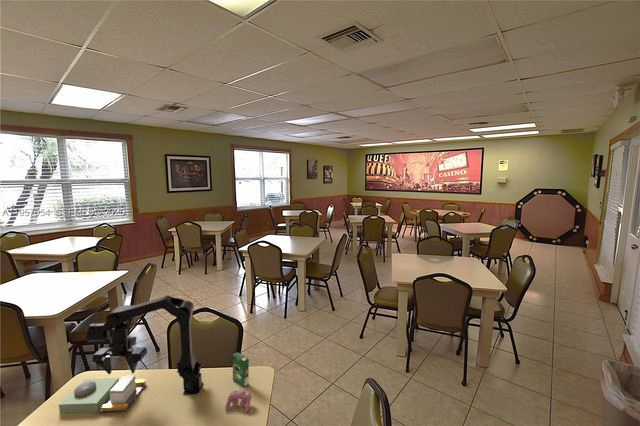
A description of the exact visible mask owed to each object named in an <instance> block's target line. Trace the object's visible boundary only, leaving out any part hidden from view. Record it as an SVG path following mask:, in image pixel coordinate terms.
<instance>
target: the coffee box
mask: <svg viewBox="0 0 640 426" xmlns="http://www.w3.org/2000/svg"><path fill="white" fill-rule="evenodd" d="M249 360H250V359H249V357H247V356H245V355H243V354H242V353H240V352H238V351H236V352H235V353H233V354H232V380H233V381H234V382H235V383H237V384H238V385H240V386H241V385H242V387H243V386H244V387H243V388H245V387H246V386H248V385H249V375H250V374H249V373H250V372H249V369H250V368H249V362H250V361H249ZM247 384H248V385H247Z"/></svg>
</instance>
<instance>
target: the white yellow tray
mask: <svg viewBox="0 0 640 426" xmlns="http://www.w3.org/2000/svg"><path fill="white" fill-rule="evenodd" d="M146 381H147V380H146V379H136V389H135V390H134V391H133V393H132V394H131V395H130V397H129V398H128V399H127V401H126V402H125V403H124V404H111V402H110V398H109V399H108V400H107V402H106V403H105V404H104V405H103V406H102V408H101V409H100V410H99V411H98V414H109V413H110V414H113V413H114V414H115V413H117V414H118V413H126V412H128V410H129V409H130V407H131V406H132V405H133V403H134V402H135V400H136V399H137V397H138V396H139V395H140V393H141V392H142V391H143V389H144V388H145V386H146V385H147V384H146Z"/></svg>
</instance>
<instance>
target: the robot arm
mask: <svg viewBox="0 0 640 426" xmlns="http://www.w3.org/2000/svg"><path fill="white" fill-rule="evenodd" d="M162 309H163V310H164V311H166V312H167V313H168V314H170V315H171V316H174V317H175V319H176V321H177V324H178V325H179V329H180V331H179V332H180V350H181V351H180V352H181V354H180V355H179V357H178V361H177V363H176V367H177V370H176V374H178V375H179V377H181V378H182V380H183V381H182V382H183V385H182V387H183V390H184V391H182V392H183V393H182V394H183V395H195V394H196V395H197V394H199V393H200V392H201V389H202V387H203V385H204V382H203V379H202V372H201V368H202V363H200V362H198V361H196V360H197V359H196V356H195V354H194V352H193V343H192V340H193V339H192V337H193V336H192V318H193V313H194V303H193V302H192V301H190V300H184V299H183V298H179V297H173V296H170V295H167V294H166V295H164V296H162V297H158V298H155V299H151V300H149V301H145V302H141V303H137V304H135V305H128V304H126V305H119V306H116V307H115V308H113V310H112V311H110V313H108V314H107V316H106V319H105V322H103V323H91V324H90V325H89V326H88V329H87V332H86V336H85V340H86V341H87V343H89V342H91V343H92V342H100V341H101V342H102V341H106V340H107V339H108V338H110V339H109V340H110V343H109V344H108V347H101V348H99V350H97V351H96V352H95V353H94V354H93V355H92V356H91V361H92V363H95V365H99V366H100V367H101V369H103V370H104V371H105V372H106V373H107V374H108V375H110V374H112V358H122V357H129V366H130V372H131V374H132V375H133V374H134V373H135V372H136V369H137V366H138V363H139V362H141V361H142V360H143V359H144V357H145V356H146V355H147V354H148V348H147V347H145V346H144V347H143V346H141V347H139V346H137V347H136V348H135V349H134V350H131V349H132V348H133V346H134V345H136V344H137V336H128V330H129V329H131V327H132V326H133V325H134V323H133V322H131V321H129V320H131V319H133V318H135V317H138V316H139V317H140V316H142V315H144V314H145V315H146V314H149V313H152V312H155V311H158V310H162Z"/></svg>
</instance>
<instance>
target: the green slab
mask: <svg viewBox="0 0 640 426" xmlns="http://www.w3.org/2000/svg"><path fill="white" fill-rule="evenodd" d="M119 380H120V378H119V377H118V378H117V377H115V378H113V377H111V378H110V377H109V378H85V379H84V380H83V381H82V382H81V383H79V384H78V385H77V386H76V387H75V388H74V389H73V390H72V391H71V392H70V393H69V394H68V395H67V396H66V397H65V398H64V399H63V400H62V401H61V402H60V403H59V404H58V409H59V410H58V411H59V414H60V415H63V414H86V413H87V414H88V413H91V414H92V413H99V411H100V409H101V408H102V406H103V405H104V404H105V403H106V402H107V401H108V400H109V399H110V390H111V389H112V388H113V387H114V386H115V385H116V383H117V382H118V381H119Z"/></svg>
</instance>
